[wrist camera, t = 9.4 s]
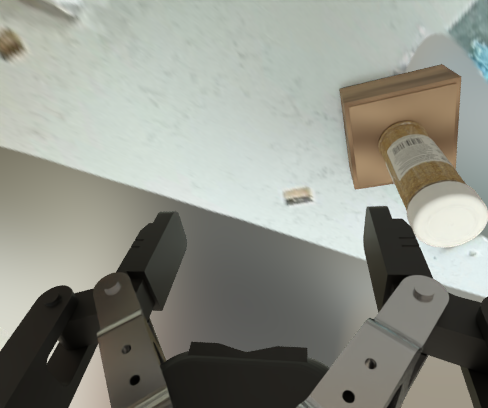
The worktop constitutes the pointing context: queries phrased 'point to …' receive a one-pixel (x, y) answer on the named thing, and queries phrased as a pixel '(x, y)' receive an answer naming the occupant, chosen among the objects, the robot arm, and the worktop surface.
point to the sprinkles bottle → (431, 188)
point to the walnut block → (399, 117)
